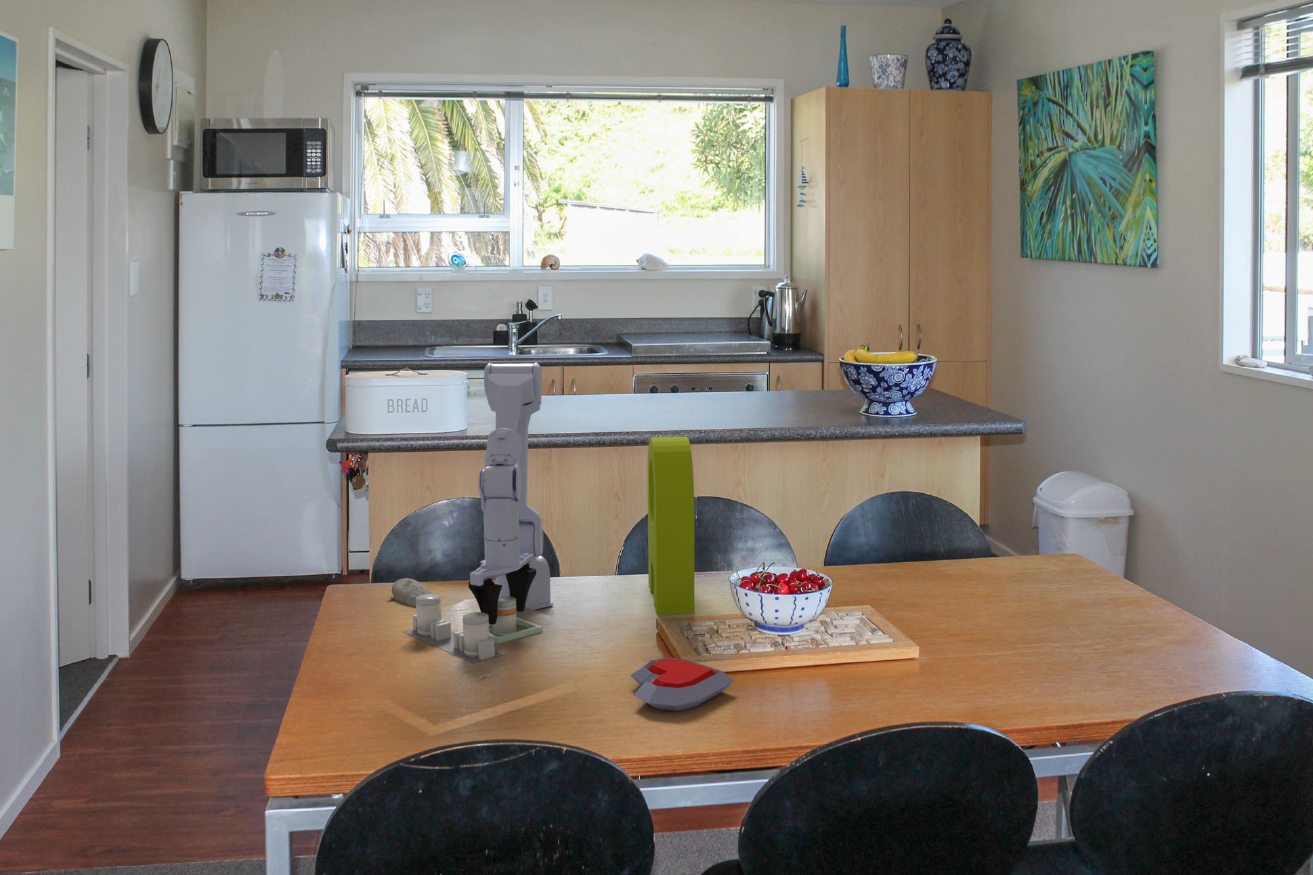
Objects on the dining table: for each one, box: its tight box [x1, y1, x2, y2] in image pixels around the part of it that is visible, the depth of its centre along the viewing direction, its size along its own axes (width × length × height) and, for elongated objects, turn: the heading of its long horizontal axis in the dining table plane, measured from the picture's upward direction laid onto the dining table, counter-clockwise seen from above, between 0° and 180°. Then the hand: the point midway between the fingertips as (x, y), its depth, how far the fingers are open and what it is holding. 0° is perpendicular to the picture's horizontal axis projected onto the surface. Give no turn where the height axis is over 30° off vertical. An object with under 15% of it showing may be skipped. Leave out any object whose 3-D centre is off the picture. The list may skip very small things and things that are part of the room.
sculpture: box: [630, 656, 735, 712], centre depth 169 cm, size 17×4×15 cm
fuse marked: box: [491, 596, 518, 636], centre depth 195 cm, size 4×4×6 cm
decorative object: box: [647, 436, 696, 616], centre depth 214 cm, size 20×7×30 cm, turn 5°
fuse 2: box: [462, 611, 490, 657], centre depth 184 cm, size 4×4×6 cm
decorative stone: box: [391, 577, 432, 608], centre depth 215 cm, size 6×16×3 cm, turn 31°
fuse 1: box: [416, 593, 442, 636], centre depth 194 cm, size 4×4×6 cm
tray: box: [489, 616, 543, 645], centre depth 195 cm, size 9×9×2 cm
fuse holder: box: [402, 613, 506, 664], centre depth 189 cm, size 6×21×4 cm, turn 42°
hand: (504, 616), depth 195 cm, fingers open, 7 cm apart
